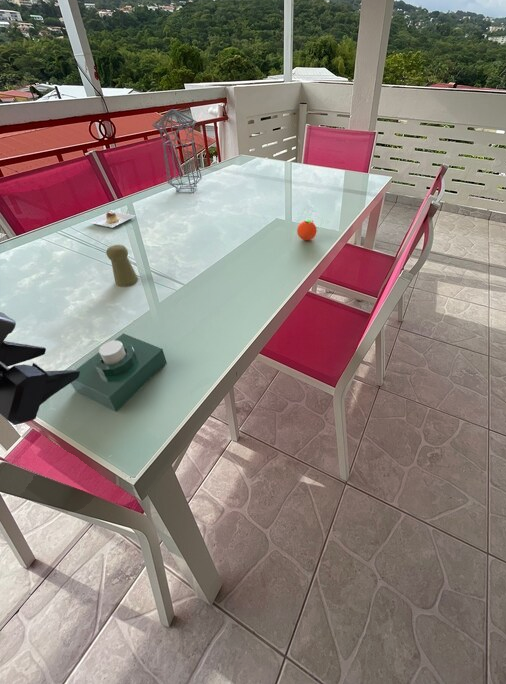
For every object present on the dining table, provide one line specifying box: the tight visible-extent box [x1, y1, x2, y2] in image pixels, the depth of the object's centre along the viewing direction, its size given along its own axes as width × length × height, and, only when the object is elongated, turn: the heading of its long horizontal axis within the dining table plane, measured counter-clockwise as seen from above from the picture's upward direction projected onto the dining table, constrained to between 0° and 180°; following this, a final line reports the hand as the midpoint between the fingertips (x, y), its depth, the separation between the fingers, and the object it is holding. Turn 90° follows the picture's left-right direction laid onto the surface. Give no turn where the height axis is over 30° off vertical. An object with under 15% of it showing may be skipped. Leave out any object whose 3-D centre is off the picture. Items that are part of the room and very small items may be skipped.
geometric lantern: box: [151, 108, 203, 194], centre depth 151 cm, size 16×16×35 cm
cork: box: [105, 244, 139, 288], centre depth 92 cm, size 6×6×11 cm
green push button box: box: [70, 332, 168, 413], centre depth 65 cm, size 13×11×6 cm
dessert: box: [87, 209, 136, 229], centre depth 128 cm, size 12×12×5 cm
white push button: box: [98, 339, 126, 365], centre depth 63 cm, size 4×4×2 cm
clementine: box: [296, 219, 318, 241], centre depth 117 cm, size 8×7×7 cm
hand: (61, 362), depth 51 cm, fingers open, 9 cm apart
